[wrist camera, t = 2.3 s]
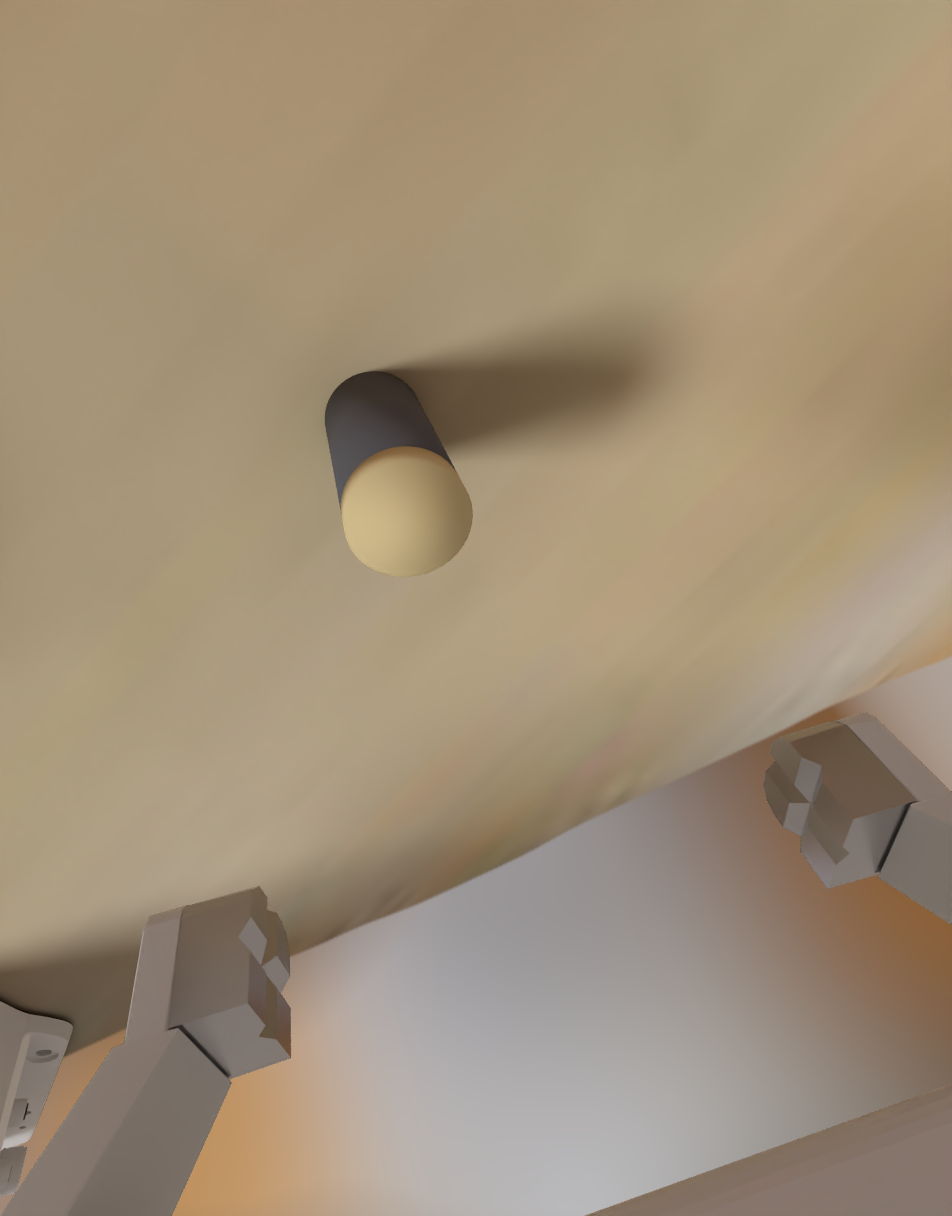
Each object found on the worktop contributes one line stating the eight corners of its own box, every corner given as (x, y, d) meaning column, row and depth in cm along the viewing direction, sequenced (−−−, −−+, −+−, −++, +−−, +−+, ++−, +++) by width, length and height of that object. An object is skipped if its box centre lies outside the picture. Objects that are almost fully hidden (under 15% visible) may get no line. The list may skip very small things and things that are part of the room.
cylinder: (409, 473, 26) (453, 583, 20) (317, 457, 25) (333, 568, 19) (432, 384, 25) (488, 473, 18) (334, 361, 23) (358, 449, 17)
